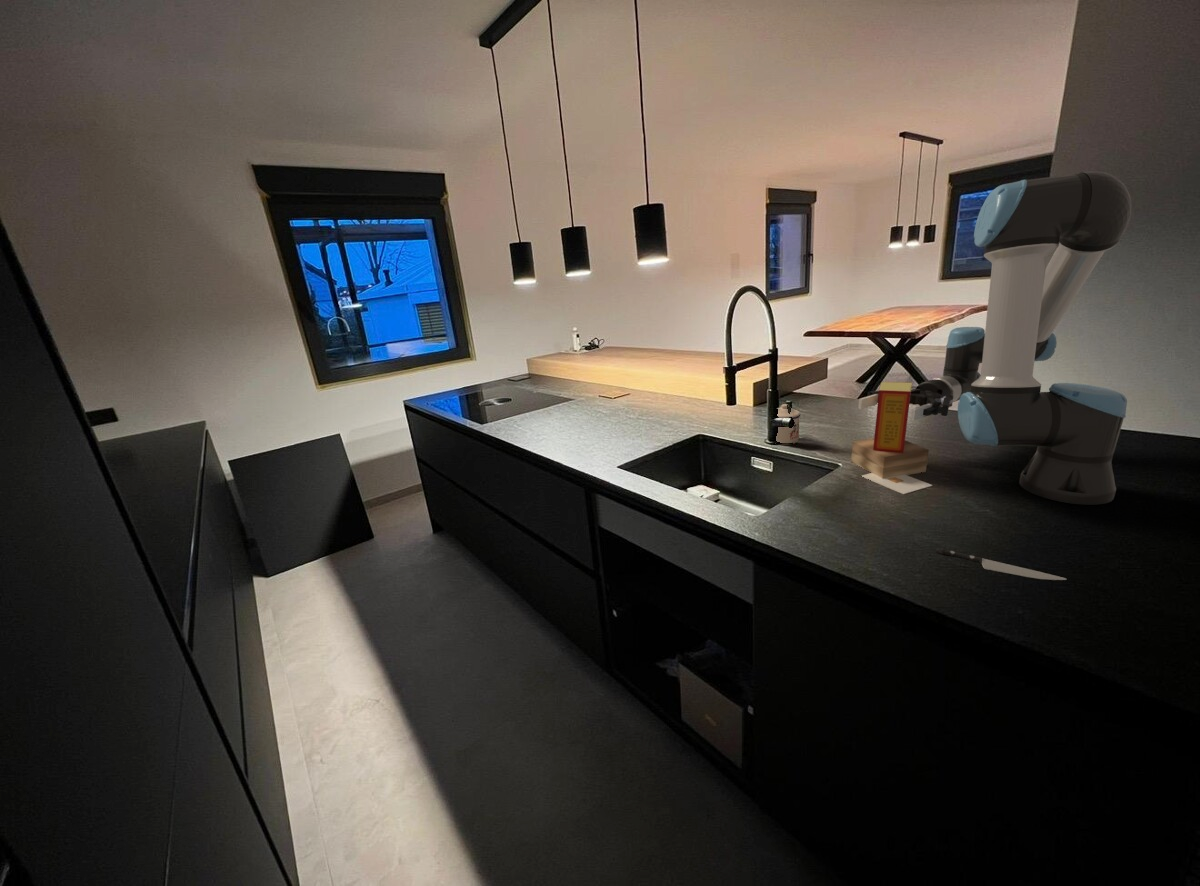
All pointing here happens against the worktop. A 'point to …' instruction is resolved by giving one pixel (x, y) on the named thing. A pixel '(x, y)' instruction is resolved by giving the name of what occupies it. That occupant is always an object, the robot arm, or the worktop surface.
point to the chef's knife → (1002, 566)
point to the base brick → (889, 459)
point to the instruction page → (898, 483)
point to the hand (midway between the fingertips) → (885, 409)
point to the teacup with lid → (785, 432)
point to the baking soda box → (892, 416)
